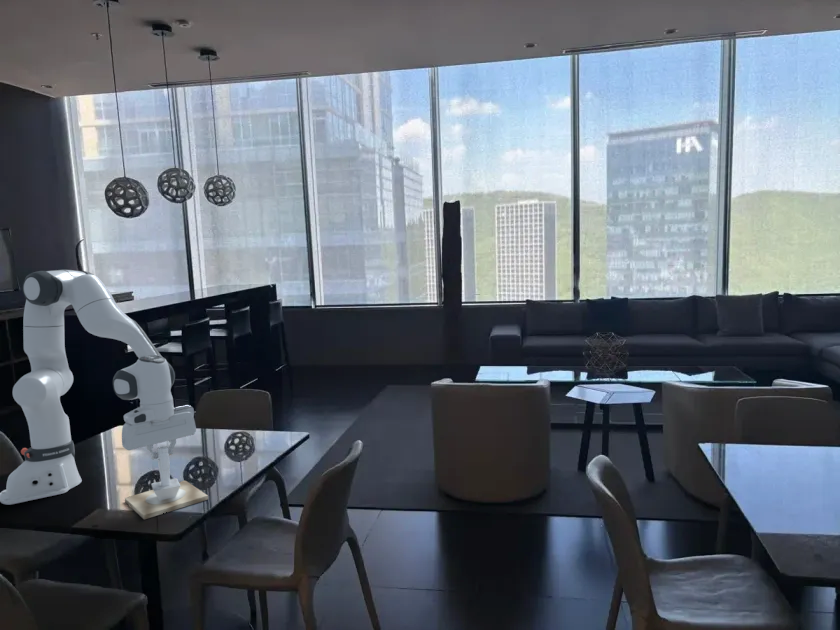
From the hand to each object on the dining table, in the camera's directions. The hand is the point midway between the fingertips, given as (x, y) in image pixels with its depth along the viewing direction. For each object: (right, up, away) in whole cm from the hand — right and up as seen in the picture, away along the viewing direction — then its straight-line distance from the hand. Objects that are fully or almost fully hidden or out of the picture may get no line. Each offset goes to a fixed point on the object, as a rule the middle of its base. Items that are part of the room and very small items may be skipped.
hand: (162, 456), depth 175 cm
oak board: (+1, -13, +1) cm, 13 cm away
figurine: (+1, -12, +1) cm, 12 cm away
